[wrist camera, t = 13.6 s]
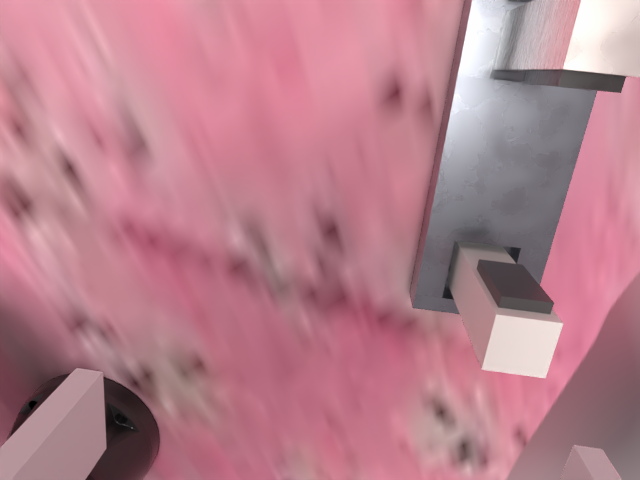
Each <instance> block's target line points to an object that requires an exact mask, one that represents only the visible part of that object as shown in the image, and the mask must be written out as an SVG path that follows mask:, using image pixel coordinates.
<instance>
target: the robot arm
mask: <svg viewBox="0 0 640 480" xmlns="http://www.w3.org/2000/svg"><path fill="white" fill-rule="evenodd" d="M158 448H159V433H158V429H157V426H156V423H155V421H154V419H153V417H152V415H151V413H150V412H149V410H148V409H147V407H146V406H145V405H144V404H143V403H142V402H141V401H140V400H139V399H138V398H137V397H136V396H135V395H134V394H133V393H131V392H130V391H129V390H127V389H126V388H124V387H122V386H121V385H119V384H117V383H115V382H113V381H110V380H108V379H105V378H103V372H100V371H94V370H88V369H81V368H76V369H75V370H74V371H73V372H72V373H71V374H69V375H63V376H60V377H57V378H54V379H52V380H50V381H48V382H47V383H45V384H44V385H43V386H41V387H40V388H39V389H38V390H37V391H36V392H35V393H34V394H33V395H32V396H31V397H30V398H29V399H28V400H27V402H26V403H25V404H24V406H23V407H22V409H21V411H20V413H19V415H18V417H17V419H16V421H15V423H14V425H13V427H12V429H11V431H10V433H9V436H8V438H7V440H6V442H5V443H4V444H3V445H2V446H1V447H0V480H142V479H143V478H144V477H145V475H146V474H147V472H148V470H149V468H150V467H151V465H152V463H153V461H154V459H155V457H156V455H157V452H158ZM560 480H622V479H621V478H620V476H619V475H618V473H617V471H616V470H615V468H614V467H613V465H612V464H611V462H610V461H609V459H608V458H607V456H606V455H605V453H604V451H603V450H602V449H597V448H591V447H584V446H577V445H574V446H573V448H572V451H571V453H570V455H569V458H568V460H567V463H566V465H565V468H564V470H563V473H562V475H561V478H560Z"/></svg>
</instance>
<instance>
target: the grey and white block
mask: <svg viewBox="0 0 640 480" xmlns="http://www.w3.org/2000/svg"><path fill="white" fill-rule="evenodd" d="M626 77H638V78H640V0H465V1H464V6H463V11H462V17H461V22H460V27H459V33H458V38H457V43H456V49H455V54H454V59H453V65H452V70H451V75H450V81H449V86H448V91H447V96H446V102H445V107H444V112H443V118H442V123H441V128H440V134H439V139H438V144H437V150H436V155H435V160H434V166H433V171H432V176H431V181H430V187H429V192H428V197H427V203H426V208H425V213H424V219H423V224H422V229H421V235H420V240H419V245H418V251H417V256H416V261H415V267H414V272H413V277H412V282H411V288H410V297H411V302H412V306H413V308H418V309H425V310H433V311H441V312H448V313H456V314H459V311H458V308H457V306H456V303H455V301H454V298H453V296H452V293H451V291H450V288H449V286H448V283H447V280H448V276H449V271H450V267H451V262H452V258H453V253H454V248H455V244H456V241H462V242H470V243H478V244H487V245H495V246H503V248H504V249H505V250H506V251H507V253H508V254H509V255H510V256H511V258H512V259H513V260H514V261H515V263H516V264H521V265H523V266H524V267H525V268H526V269H527V271H528V272H529V273H530V274H531V276H532V277H533V278H534V279H535V280H536V282H537V283H538V284H539V285H540V282H541V279H542V276H543V272H544V269H545V265H546V262H547V259H548V255H549V252H550V249H551V245H552V242H553V238H554V235H555V232H556V228H557V225H558V222H559V218H560V215H561V211H562V208H563V205H564V201H565V198H566V195H567V191H568V188H569V184H570V181H571V178H572V174H573V171H574V168H575V164H576V161H577V157H578V154H579V151H580V147H581V144H582V141H583V137H584V134H585V130H586V127H587V124H588V120H589V117H590V114H591V110H592V107H593V103H594V100H595V97H596V93H597V91H607V92H618V93H621V91H622V87H623V84H624V81H625V78H626Z"/></svg>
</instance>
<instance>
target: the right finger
mask: <svg viewBox="0 0 640 480" xmlns="http://www.w3.org/2000/svg"><path fill="white" fill-rule="evenodd" d="M447 283H448V286H449V288H450V291H451V293H452V296H453V298H454V301H455V303H456V306H457V308H458V311H459V314H460V316H461V319H462V321H463V324H464V326H465V329H466V331H467V334H468V336H469V339H470V341H471V344H472V347H473V349H474V352H475V354H476V357H477V359H478V362H479V364H480V367H481V369H482V370H488V371H496V372H503V373H510V374H518V375H525V376H532V377H540V378H546V375H547V372H548V369H549V366H550V363H551V360H552V357H553V353H554V350H555V347H556V344H557V341H558V338H559V335H560V332H561V329H562V326H563V322H562V321H561V320H560V318H559V317H558V316H557V315H556V313H555V312H554V311H553V310H552V307H553V304H554V302H553V301H552V300H551V299H550V298H549V296H548V295H547V294H546V293H545V291H544V290H543V289H542V288H541V287H540V285H539V284H538V283H537V282H536V280H535V279H534V278H533V277H532V276H531V274H530V273H529V272H528V271H527V269H526V268H525V267H524V266H523V265H521V264H516V263H515V261H514V260H513V259H512V258H511V256H510V255H509V254H508V253H507V251H506V250H505V249H504V248H503V246H495V245H487V244H478V243H470V242H462V241H456V244H455V248H454V253H453V258H452V262H451V267H450V271H449V276H448V280H447Z"/></svg>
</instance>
